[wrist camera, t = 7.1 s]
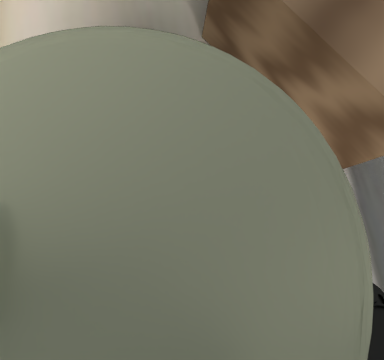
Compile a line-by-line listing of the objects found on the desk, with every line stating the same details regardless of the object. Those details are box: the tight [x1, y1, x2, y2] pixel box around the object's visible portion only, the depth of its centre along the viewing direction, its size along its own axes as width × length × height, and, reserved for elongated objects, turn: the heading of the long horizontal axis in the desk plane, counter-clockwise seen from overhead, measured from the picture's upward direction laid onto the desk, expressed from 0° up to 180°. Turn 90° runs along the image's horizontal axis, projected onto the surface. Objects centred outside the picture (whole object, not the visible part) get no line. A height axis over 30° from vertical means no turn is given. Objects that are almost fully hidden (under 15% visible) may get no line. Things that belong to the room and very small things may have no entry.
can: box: [0, 26, 373, 360], centre depth 9 cm, size 9×9×12 cm
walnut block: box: [202, 0, 384, 169], centre depth 21 cm, size 18×18×8 cm
